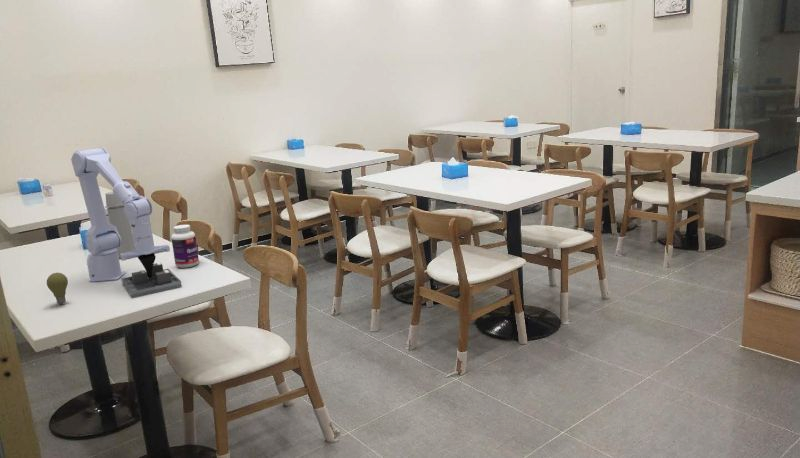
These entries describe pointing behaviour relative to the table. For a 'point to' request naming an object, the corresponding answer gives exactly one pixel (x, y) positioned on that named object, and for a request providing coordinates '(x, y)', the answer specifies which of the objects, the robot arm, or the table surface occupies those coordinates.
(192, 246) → the pill bottle
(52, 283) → the light bulb
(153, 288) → the panel
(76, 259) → the table surface
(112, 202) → the water bottle
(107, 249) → the robot arm
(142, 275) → the block
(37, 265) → the table surface
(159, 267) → the breaker far
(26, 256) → the table surface
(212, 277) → the table surface
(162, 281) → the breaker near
